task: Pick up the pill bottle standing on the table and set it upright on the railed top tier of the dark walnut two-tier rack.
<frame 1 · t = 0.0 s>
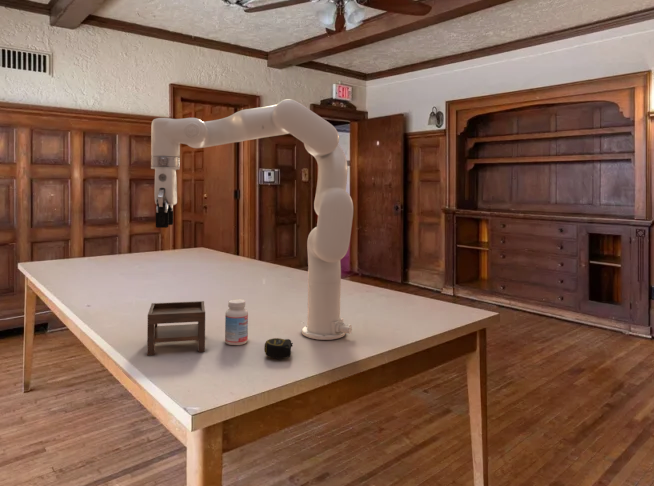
hand: (164, 226, 128), 31 cm above the table, tool pointing down, fingers open, 9 cm apart
pill bottle: (236, 343, 126), on the table
rack: (177, 345, 123), on the table
tape measure: (280, 356, 116), on the table
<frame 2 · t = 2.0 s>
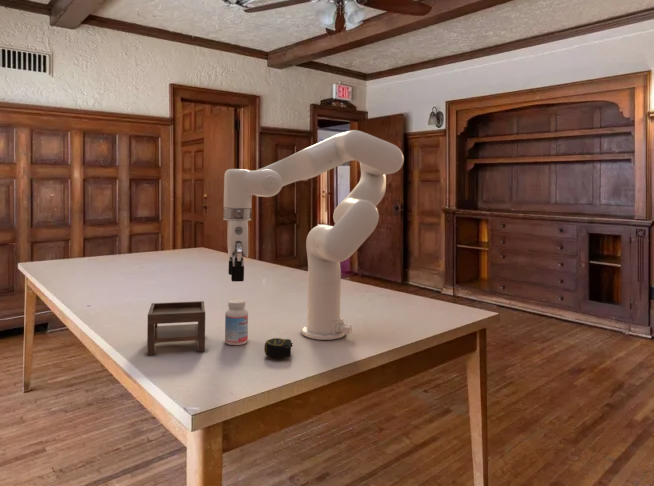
hand: (235, 277, 126), 18 cm above the table, tool pointing down, fingers open, 9 cm apart
nothing on the table moved.
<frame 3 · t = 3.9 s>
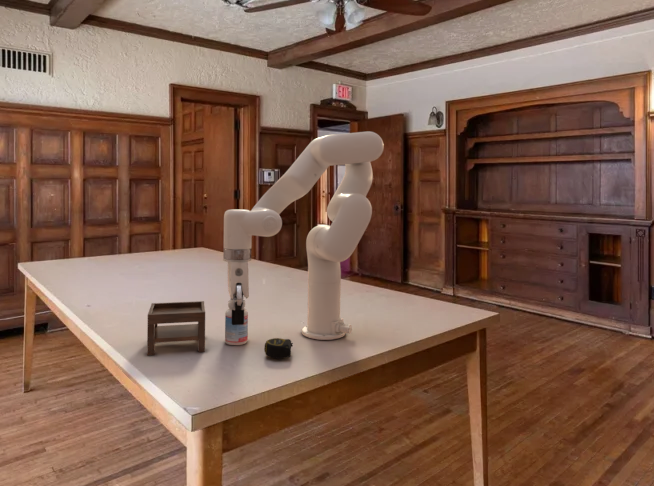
hand: (236, 320, 126), 6 cm above the table, tool pointing down, fingers closed on pill bottle, 6 cm apart
pill bottle: (236, 342, 126), on the table, touching gripper
everything else where it was.
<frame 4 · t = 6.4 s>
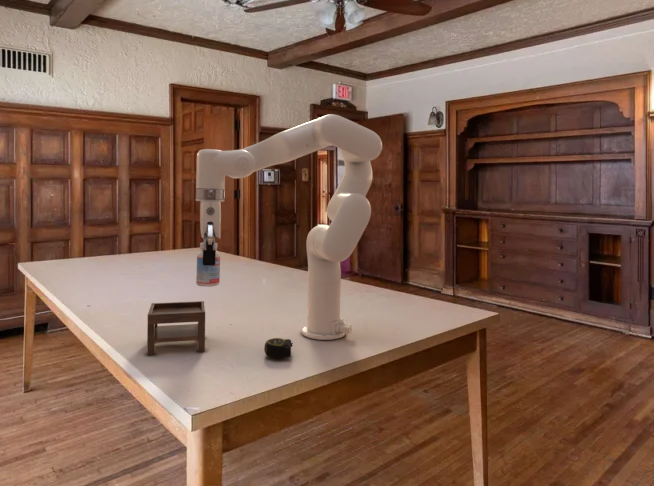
hand: (208, 262, 124), 22 cm above the table, tool pointing down, fingers closed on pill bottle, 6 cm apart
pill bottle: (207, 285, 124), point 16 cm above the table, touching gripper
everything else where it was.
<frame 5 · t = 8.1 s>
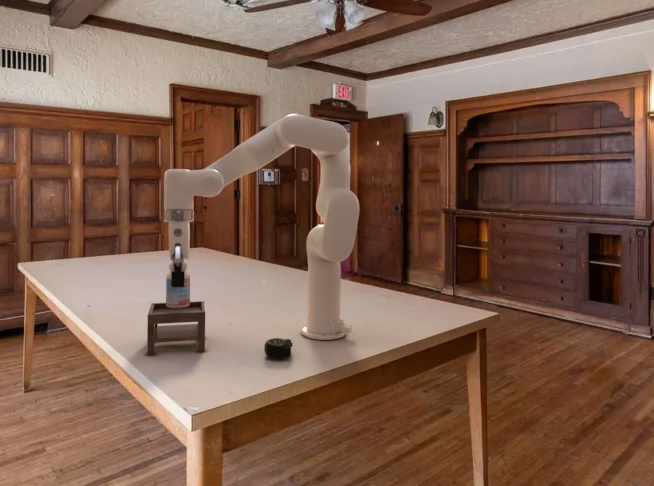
hand: (178, 283, 122), 17 cm above the table, tool pointing down, fingers closed on pill bottle, 6 cm apart
pill bottle: (178, 306, 122), point 10 cm above the table, touching gripper
everything else where it was.
when the fingers open (15 cm above the table, at t = 9.1 s): pill bottle stays where it is, resting on rack.
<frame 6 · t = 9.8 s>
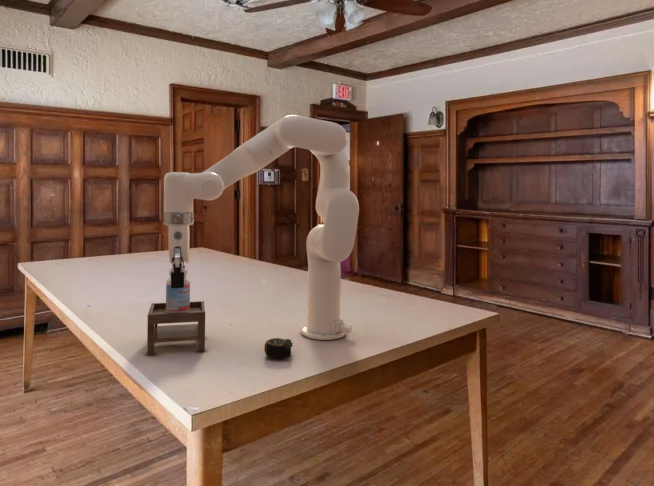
hand: (178, 284, 122), 16 cm above the table, tool pointing down, fingers open, 9 cm apart
pill bottle: (177, 312, 122), point 9 cm above the table, touching rack
everything else where it was.
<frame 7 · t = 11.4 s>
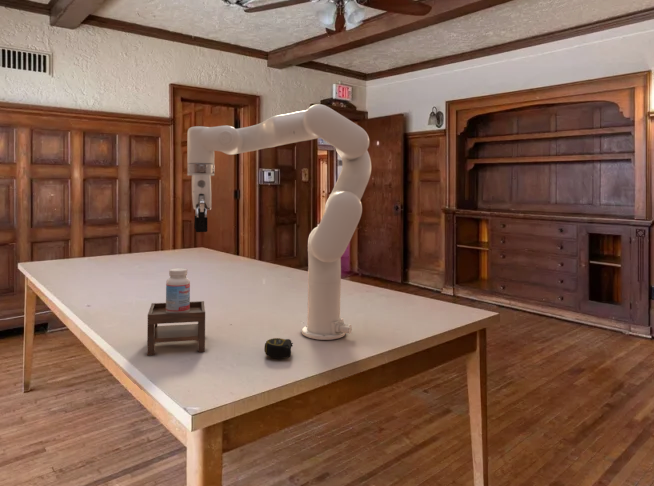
hand: (200, 230, 132), 30 cm above the table, tool pointing down, fingers open, 9 cm apart
nothing on the table moved.
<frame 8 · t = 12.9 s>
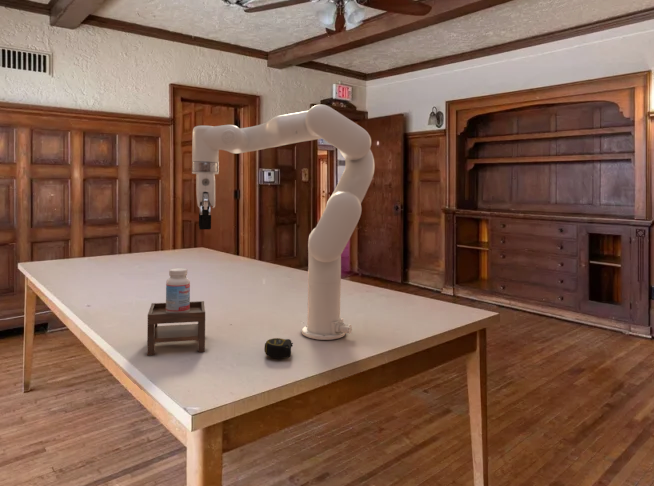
hand: (204, 227, 135), 30 cm above the table, tool pointing down, fingers open, 9 cm apart
nothing on the table moved.
at the end: pill bottle inside the target area on the rack (0.1 cm from its centre), point 8.8 cm above the rack's base; pill bottle tilted 0° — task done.
